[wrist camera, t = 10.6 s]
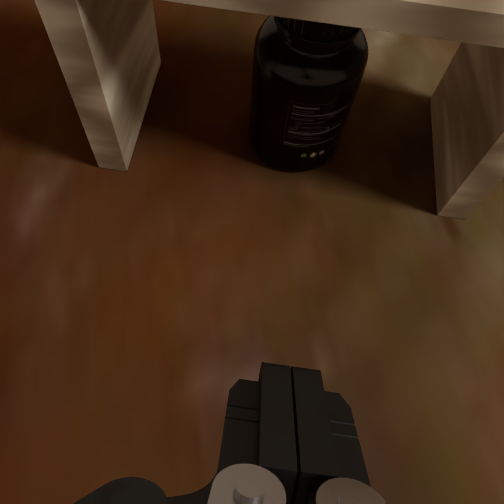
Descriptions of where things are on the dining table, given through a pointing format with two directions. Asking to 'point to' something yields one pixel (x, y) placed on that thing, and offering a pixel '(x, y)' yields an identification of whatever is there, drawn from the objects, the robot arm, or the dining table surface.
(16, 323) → the dining table surface
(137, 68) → the riser
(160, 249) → the dining table surface
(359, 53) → the supplement bottle
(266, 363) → the robot arm
